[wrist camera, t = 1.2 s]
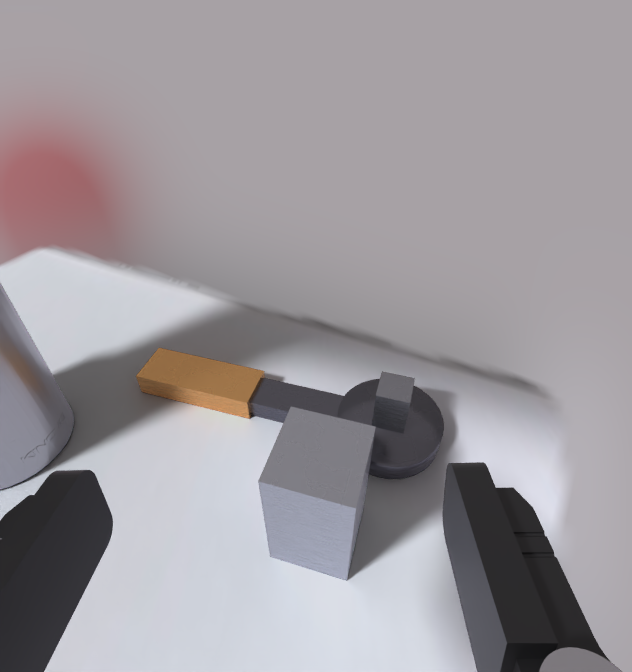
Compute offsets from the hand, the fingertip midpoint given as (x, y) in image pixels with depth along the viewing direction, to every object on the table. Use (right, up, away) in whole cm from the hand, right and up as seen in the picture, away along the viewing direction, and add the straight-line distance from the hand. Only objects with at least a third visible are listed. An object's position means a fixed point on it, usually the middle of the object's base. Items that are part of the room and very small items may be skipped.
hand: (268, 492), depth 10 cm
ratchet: (-1, -2, +27) cm, 27 cm away
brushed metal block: (+1, -9, +20) cm, 22 cm away
